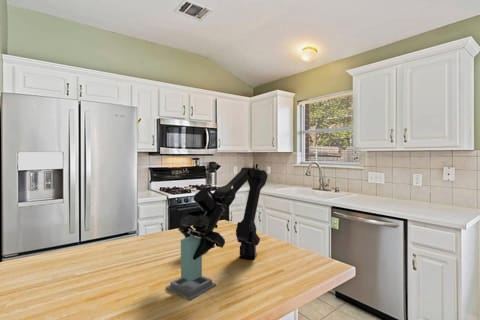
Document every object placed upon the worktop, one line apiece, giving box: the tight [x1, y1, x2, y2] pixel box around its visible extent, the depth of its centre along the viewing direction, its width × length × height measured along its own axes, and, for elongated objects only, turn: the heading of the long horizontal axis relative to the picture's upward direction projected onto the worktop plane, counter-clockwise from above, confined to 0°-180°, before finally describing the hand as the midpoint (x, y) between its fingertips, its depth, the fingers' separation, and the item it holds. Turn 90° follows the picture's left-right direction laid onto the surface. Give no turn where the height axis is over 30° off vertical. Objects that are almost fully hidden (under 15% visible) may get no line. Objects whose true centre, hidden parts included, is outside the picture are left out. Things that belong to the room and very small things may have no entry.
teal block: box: [180, 236, 203, 281], centre depth 92 cm, size 5×5×13 cm
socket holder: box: [165, 275, 217, 301], centre depth 92 cm, size 12×12×2 cm
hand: (188, 257), depth 91 cm, fingers closed on teal block, 5 cm apart
